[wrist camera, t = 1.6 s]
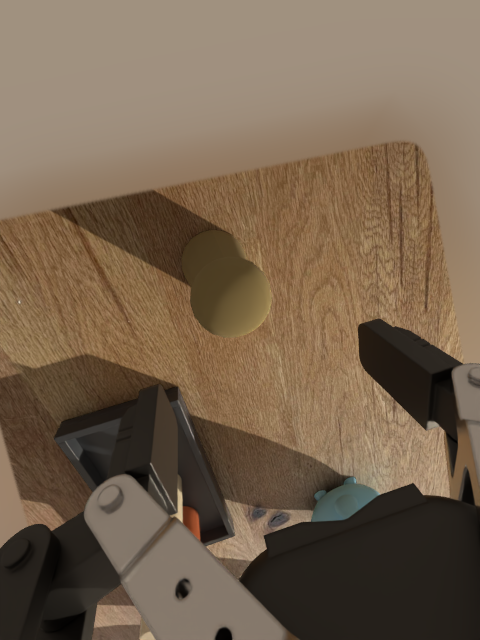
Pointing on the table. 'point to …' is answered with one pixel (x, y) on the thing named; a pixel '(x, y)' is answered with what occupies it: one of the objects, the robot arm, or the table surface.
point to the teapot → (342, 501)
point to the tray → (193, 466)
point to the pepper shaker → (225, 285)
